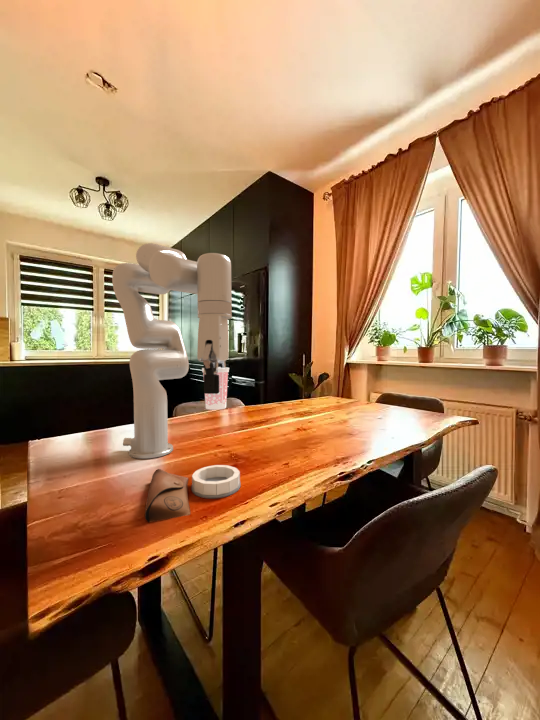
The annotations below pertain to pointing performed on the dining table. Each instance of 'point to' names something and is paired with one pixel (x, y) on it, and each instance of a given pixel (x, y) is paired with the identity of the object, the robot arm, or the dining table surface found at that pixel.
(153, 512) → the sunglasses case
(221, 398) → the beverage cup
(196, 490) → the cup holder ring
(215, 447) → the dining table surface
